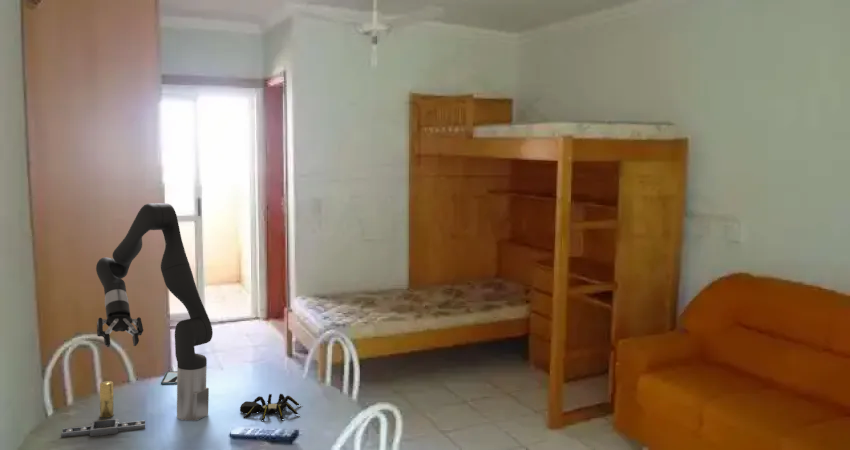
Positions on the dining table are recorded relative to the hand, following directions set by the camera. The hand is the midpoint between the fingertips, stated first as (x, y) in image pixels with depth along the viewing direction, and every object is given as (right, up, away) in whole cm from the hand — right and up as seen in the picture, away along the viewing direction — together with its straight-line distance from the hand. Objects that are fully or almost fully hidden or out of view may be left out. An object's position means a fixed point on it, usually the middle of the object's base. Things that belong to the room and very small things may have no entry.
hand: (122, 345), depth 224 cm
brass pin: (-4, -23, -3) cm, 23 cm away
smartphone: (+4, -20, +36) cm, 41 cm away
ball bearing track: (+1, -24, -15) cm, 28 cm away
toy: (+49, -25, +7) cm, 55 cm away
